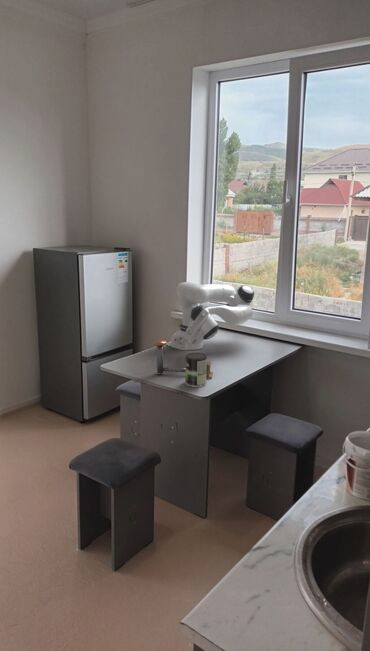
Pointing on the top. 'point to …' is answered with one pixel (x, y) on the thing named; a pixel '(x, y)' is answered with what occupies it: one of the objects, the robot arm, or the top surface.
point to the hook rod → (160, 359)
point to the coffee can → (196, 369)
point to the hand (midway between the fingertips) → (195, 320)
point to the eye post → (208, 370)
